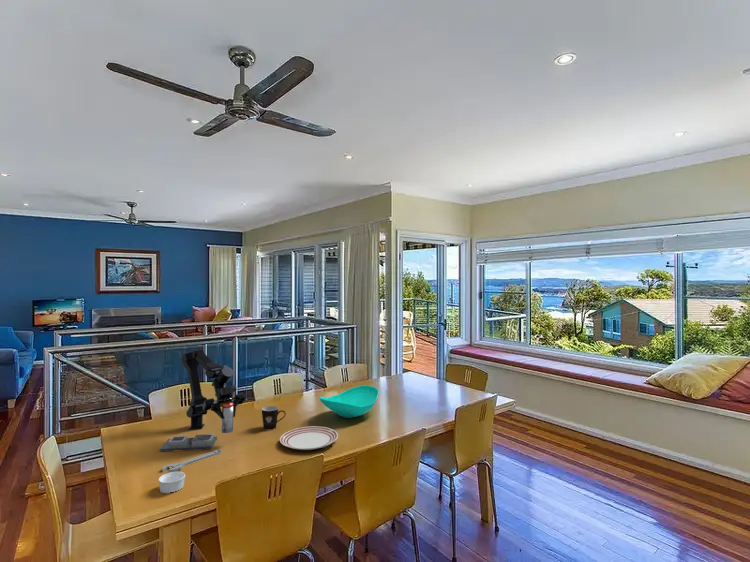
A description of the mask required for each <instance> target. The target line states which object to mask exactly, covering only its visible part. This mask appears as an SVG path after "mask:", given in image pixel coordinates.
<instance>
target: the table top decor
mask: <svg viewBox="0 0 750 562" xmlns="http://www.w3.org/2000/svg"><path fill="white" fill-rule="evenodd" d="M379 393H380V392H379V389H378V388H377V387H375V386H372V385H358V386H354V387H351V388H348V389H347V390H345V391H343V392H341V393H339V394H335V395H332V396H328V397H327V396H320V397H319V400H320V402H321V403H322V404H323V405H324V406H325V407H326V408H327V409H329V410H330V411H332V412H333V413H336V414H337V415H338V416H340V417H342V418H345V419H352V418H356V417H359V416H363V415H364V414H366V413H367V412H368V413H369V411H370V410H371V409H372V408H373V406H374V405H375V403H376V402H377V400H378V397H379Z"/></svg>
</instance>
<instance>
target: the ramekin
mask: <svg viewBox="0 0 750 562" xmlns="http://www.w3.org/2000/svg"><path fill="white" fill-rule="evenodd" d="M185 479H186V474H185V472H182V471H177V472H170V473H169V472H167V473H164V474H162V475H160V477H158V483H159V484H158V486H159V491H160V493H163V494H171V493H170V492H174V493H176V492H175V491H177V492H179V491H181V490H182V489H183V488H184V486H185ZM181 488H182V489H181ZM180 489H181V490H180ZM178 490H179V491H178Z"/></svg>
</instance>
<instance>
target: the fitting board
mask: <svg viewBox="0 0 750 562" xmlns="http://www.w3.org/2000/svg"><path fill="white" fill-rule="evenodd" d="M217 440H218V436H215V433H208V434H207V433H206V434H205V433H204V434H196V435H195V436H194V437H188V435H180V436H179V435H177V436H175V435H174V436H172V437H171V438H168V439H167V440H166V441H165V443H163V444H162V446H161V447H159V452H160V451H163V452H175V451H174V450H183V451H195V450H194V449H202V450H212V449H213V447H214V445H215V444H216V442H217ZM215 441H216V442H215ZM214 443H215V444H214ZM211 448H212V449H211Z"/></svg>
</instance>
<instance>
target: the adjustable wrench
mask: <svg viewBox="0 0 750 562" xmlns="http://www.w3.org/2000/svg"><path fill="white" fill-rule="evenodd" d="M219 453H221V454H222V449H217V450H213V451H210V452H207V453H204V454H201V455H198V456H196V457H193V458H190V459H187V460H185V461H181V462H175V463H168V464H166V465H164V466H162V468H161V472H162V473H164V472H166V471H167V469H168V473H170V472H175V471H177V472H179V471H180V470H181V471H182V470H183V468H184V467H183V466H185V465H187V466H189V465H188V464H190V465H192V464H191V463H193V462H196V461H198V462H200V461H199V460H201V461H203V460H202V459H204V460H206V459H205V458H207V459H209V458H208V457H210V458H212V457H211V456H213V457H215V456H214V455H216V456H218V455H220V454H219ZM217 454H218V455H217ZM196 463H197V462H196ZM193 464H194V463H193ZM169 467H172V468H171V469H170V468H169ZM182 467H183V468H182ZM185 467H186V466H185ZM165 470H166V471H165ZM178 470H179V471H178ZM163 471H164V472H163Z"/></svg>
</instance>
